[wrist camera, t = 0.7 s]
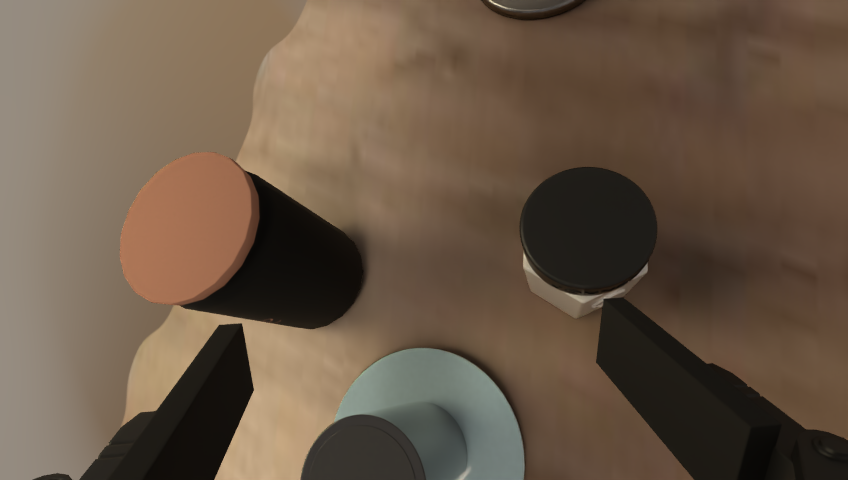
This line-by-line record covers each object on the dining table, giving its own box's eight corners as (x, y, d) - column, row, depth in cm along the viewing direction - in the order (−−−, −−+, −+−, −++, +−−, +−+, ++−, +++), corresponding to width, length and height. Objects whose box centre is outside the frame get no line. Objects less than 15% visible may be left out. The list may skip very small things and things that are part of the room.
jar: (553, 333, 36) (553, 316, 25) (509, 252, 39) (491, 206, 28) (651, 285, 35) (696, 247, 24) (598, 206, 38) (615, 140, 27)
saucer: (374, 324, 41) (368, 322, 40) (550, 388, 35) (550, 388, 34) (309, 506, 38) (301, 510, 37) (490, 610, 32) (487, 620, 31)
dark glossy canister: (394, 387, 38) (328, 394, 27) (480, 422, 35) (445, 447, 24) (363, 480, 36) (279, 528, 25) (449, 525, 33) (397, 602, 22)
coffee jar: (260, 274, 47) (100, 221, 30) (333, 210, 46) (211, 122, 30) (307, 352, 42) (149, 340, 26) (387, 283, 42) (279, 226, 26)
